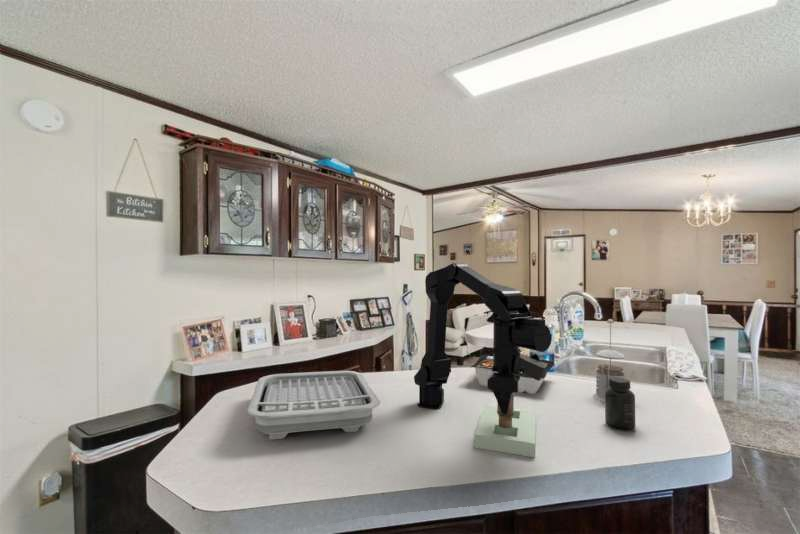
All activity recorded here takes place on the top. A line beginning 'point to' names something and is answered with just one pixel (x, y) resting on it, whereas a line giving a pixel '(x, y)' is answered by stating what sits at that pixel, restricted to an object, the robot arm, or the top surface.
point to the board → (507, 432)
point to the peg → (506, 419)
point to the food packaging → (525, 382)
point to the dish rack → (311, 402)
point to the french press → (607, 370)
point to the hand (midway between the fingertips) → (505, 410)
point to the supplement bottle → (620, 405)
